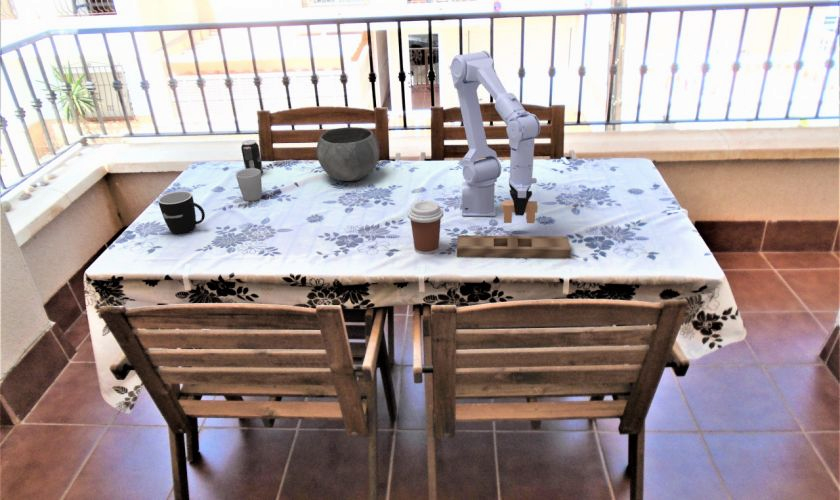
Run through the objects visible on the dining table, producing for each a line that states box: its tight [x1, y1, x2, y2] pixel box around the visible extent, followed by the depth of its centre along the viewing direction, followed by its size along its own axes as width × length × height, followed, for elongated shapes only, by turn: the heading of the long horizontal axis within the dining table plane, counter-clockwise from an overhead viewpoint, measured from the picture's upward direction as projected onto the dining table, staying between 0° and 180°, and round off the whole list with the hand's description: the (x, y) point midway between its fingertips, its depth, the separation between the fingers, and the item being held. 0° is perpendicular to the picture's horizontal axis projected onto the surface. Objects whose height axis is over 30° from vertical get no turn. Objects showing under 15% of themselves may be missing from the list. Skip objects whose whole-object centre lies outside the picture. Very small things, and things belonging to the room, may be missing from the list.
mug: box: [158, 190, 206, 235], centre depth 168 cm, size 12×9×10 cm
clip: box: [501, 200, 538, 224], centre depth 158 cm, size 9×3×5 cm, turn 84°
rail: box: [456, 234, 572, 259], centre depth 152 cm, size 28×7×2 cm, turn 84°
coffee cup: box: [407, 200, 444, 255], centre depth 152 cm, size 9×9×12 cm
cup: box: [235, 168, 263, 202], centre depth 188 cm, size 8×10×8 cm
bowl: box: [316, 126, 381, 182], centre depth 198 cm, size 20×20×15 cm
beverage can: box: [240, 139, 264, 175], centre depth 204 cm, size 6×6×12 cm
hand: (519, 211), depth 158 cm, fingers closed on clip, 3 cm apart
